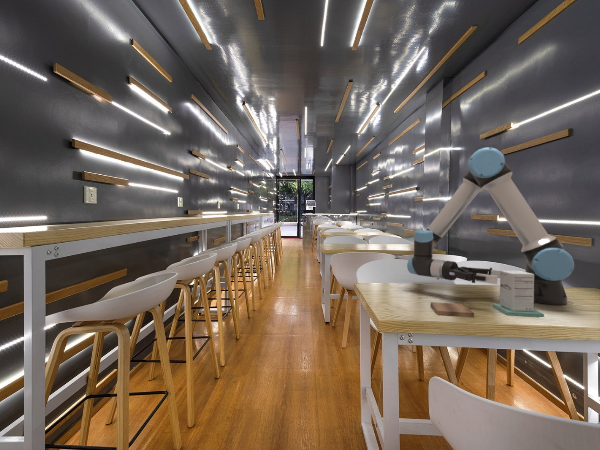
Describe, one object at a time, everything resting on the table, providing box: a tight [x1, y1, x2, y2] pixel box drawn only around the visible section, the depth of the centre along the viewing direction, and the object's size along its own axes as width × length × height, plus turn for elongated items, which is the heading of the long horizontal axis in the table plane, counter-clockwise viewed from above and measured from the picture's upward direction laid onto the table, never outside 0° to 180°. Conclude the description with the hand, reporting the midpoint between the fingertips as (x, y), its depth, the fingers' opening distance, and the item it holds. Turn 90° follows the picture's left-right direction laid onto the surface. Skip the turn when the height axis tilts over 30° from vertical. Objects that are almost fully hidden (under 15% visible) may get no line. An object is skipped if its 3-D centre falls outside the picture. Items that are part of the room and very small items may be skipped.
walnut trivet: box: [430, 301, 475, 318], centre depth 110 cm, size 11×11×2 cm
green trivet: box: [492, 303, 545, 318], centre depth 111 cm, size 11×11×2 cm
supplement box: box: [499, 269, 535, 311], centre depth 111 cm, size 7×7×13 cm
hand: (504, 278), depth 114 cm, fingers open, 13 cm apart
